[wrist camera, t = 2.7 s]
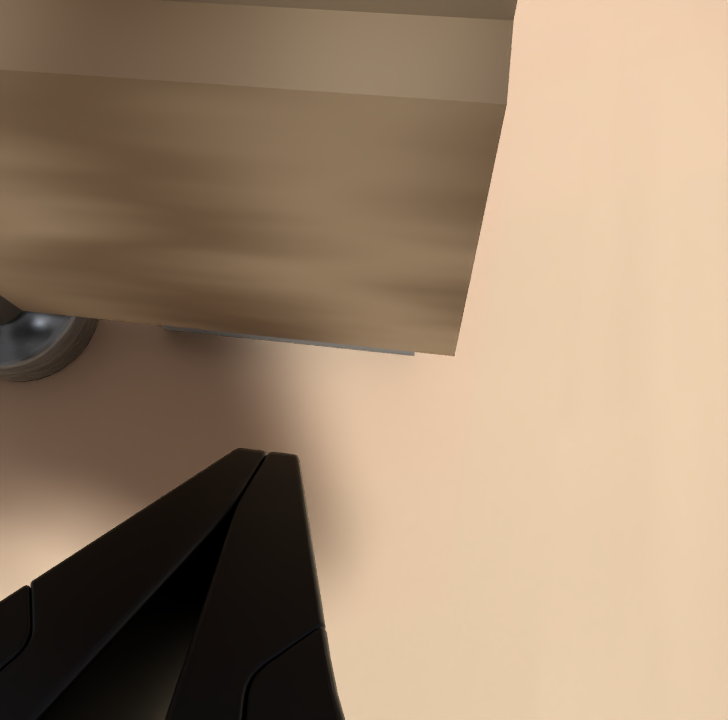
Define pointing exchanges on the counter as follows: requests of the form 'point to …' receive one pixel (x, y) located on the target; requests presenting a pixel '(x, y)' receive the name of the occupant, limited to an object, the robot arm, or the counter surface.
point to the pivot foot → (41, 344)
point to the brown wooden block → (250, 163)
